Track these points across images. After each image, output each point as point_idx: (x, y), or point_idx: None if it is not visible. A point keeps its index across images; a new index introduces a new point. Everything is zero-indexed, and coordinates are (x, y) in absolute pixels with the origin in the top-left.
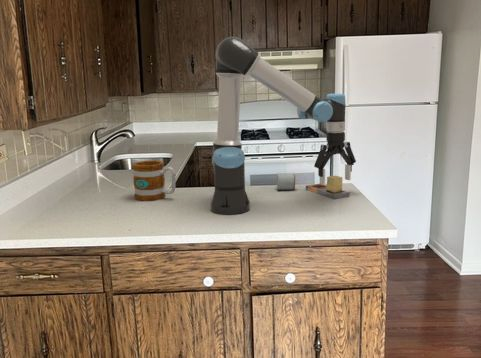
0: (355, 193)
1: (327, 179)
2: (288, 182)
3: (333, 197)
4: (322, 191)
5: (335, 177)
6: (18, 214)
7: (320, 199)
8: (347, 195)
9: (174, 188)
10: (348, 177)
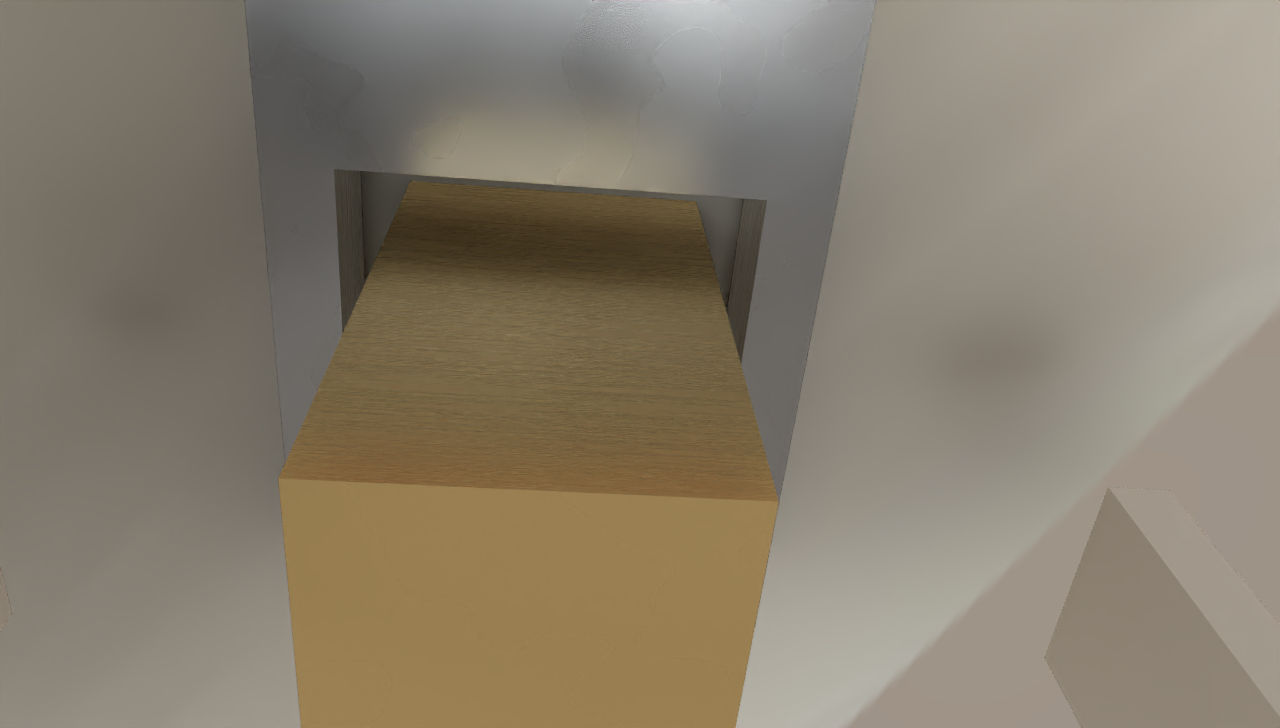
0: (1064, 455)
1: (309, 438)
2: None
3: None
4: (262, 160)
5: (503, 721)
6: None
7: (17, 394)
8: None
9: None
10: (1095, 699)
